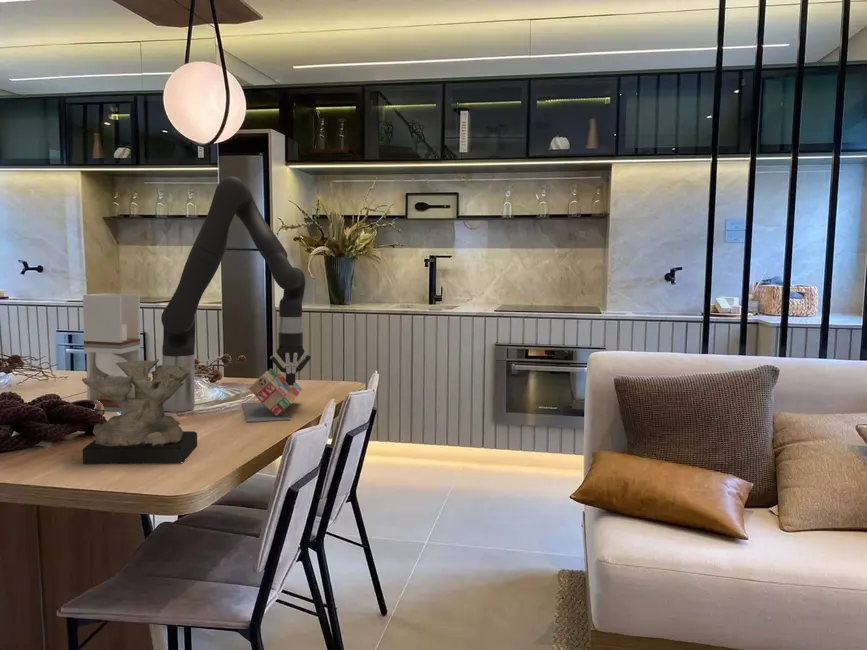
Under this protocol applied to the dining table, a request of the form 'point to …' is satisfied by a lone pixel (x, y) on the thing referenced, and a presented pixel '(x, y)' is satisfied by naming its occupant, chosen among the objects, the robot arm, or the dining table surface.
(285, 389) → the stack of blocks
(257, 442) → the dining table surface
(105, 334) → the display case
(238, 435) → the dining table surface
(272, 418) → the mat
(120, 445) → the coral
